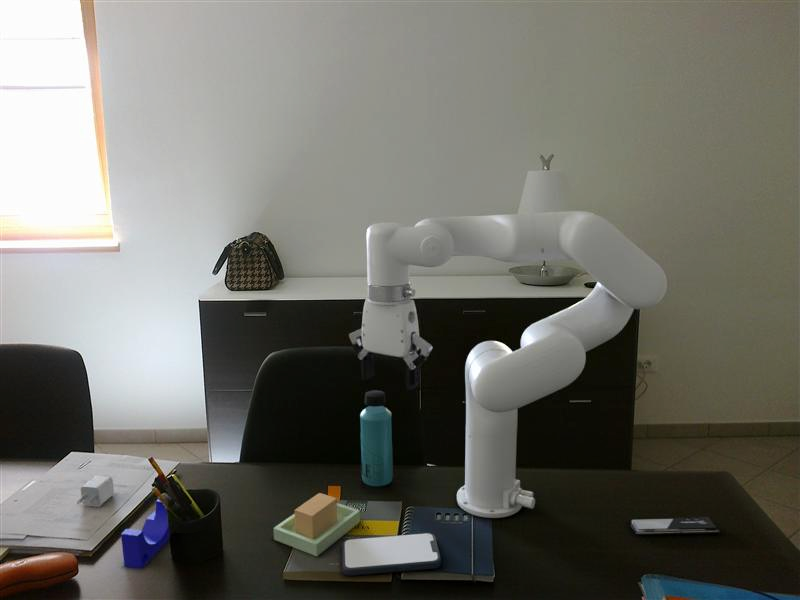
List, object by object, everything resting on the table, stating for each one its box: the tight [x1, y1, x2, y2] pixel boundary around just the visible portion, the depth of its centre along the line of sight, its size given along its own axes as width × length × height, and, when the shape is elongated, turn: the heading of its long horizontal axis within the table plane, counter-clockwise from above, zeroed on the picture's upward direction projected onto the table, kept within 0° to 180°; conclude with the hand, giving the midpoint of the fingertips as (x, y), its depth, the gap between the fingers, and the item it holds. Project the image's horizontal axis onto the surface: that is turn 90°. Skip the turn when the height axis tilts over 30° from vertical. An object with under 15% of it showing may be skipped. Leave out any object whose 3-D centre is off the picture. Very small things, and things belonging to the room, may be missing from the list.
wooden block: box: [294, 492, 338, 539], centre depth 121 cm, size 4×7×4 cm, turn 148°
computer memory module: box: [629, 516, 721, 536], centre depth 120 cm, size 15×1×4 cm
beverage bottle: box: [359, 389, 394, 487], centre depth 135 cm, size 6×7×20 cm
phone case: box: [341, 532, 442, 577], centre depth 113 cm, size 9×2×16 cm
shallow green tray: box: [273, 502, 361, 557], centre depth 121 cm, size 10×13×2 cm
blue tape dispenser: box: [120, 498, 171, 570], centre depth 116 cm, size 12×4×6 cm, turn 169°
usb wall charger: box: [76, 475, 115, 508], centre depth 131 cm, size 4×7×4 cm, turn 170°
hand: (389, 383), depth 125 cm, fingers open, 9 cm apart
